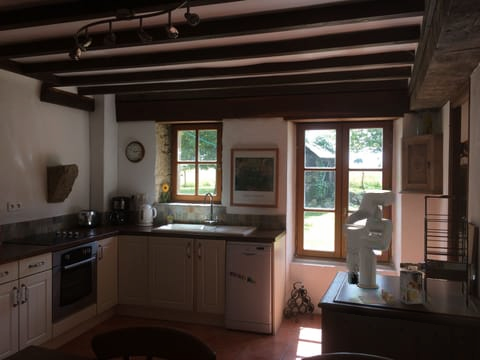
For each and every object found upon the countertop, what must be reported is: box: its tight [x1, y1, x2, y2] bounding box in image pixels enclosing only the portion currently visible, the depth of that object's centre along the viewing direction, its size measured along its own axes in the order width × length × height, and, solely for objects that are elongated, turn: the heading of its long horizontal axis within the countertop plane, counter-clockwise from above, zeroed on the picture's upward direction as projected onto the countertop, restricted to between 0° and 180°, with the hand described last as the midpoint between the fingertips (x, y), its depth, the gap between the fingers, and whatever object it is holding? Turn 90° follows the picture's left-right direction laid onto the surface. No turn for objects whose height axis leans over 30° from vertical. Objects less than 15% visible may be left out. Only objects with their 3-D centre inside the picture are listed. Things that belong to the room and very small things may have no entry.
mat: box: [357, 295, 388, 305], centre depth 199 cm, size 11×12×1 cm
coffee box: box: [399, 269, 423, 305], centre depth 197 cm, size 9×6×16 cm
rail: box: [381, 289, 395, 305], centre depth 198 cm, size 12×2×4 cm, turn 179°
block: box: [347, 271, 359, 285], centre depth 206 cm, size 4×5×6 cm
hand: (353, 282), depth 206 cm, fingers closed on block, 4 cm apart
